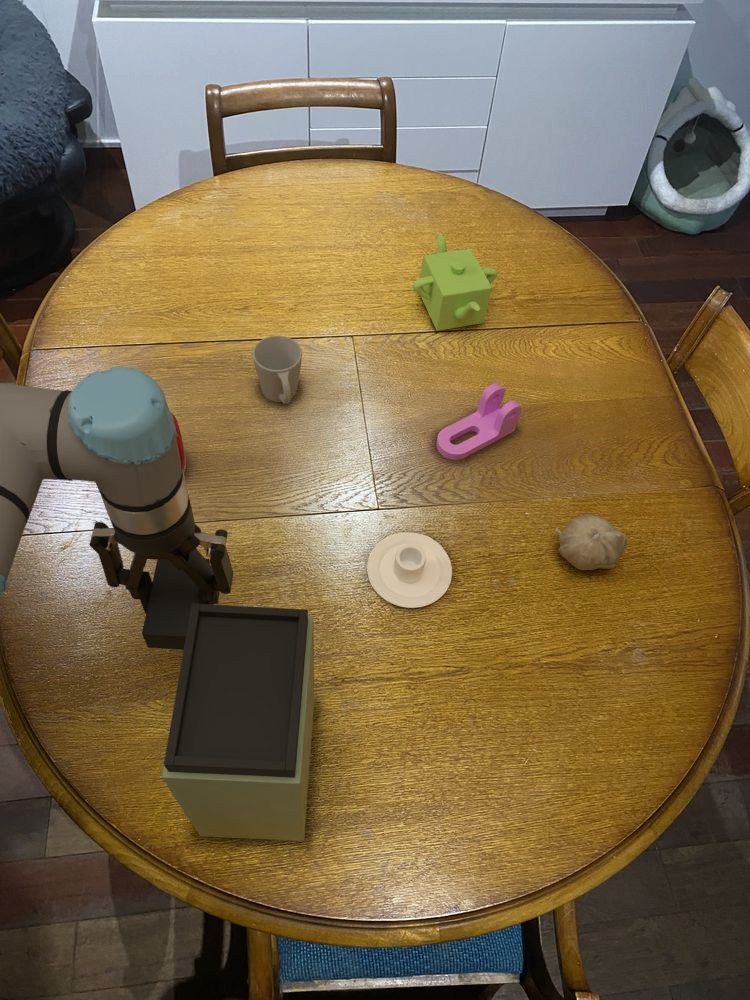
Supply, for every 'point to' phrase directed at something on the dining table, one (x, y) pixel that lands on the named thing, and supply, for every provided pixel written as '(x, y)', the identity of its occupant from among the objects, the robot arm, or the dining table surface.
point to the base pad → (239, 692)
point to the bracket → (481, 425)
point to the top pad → (169, 607)
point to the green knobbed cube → (454, 287)
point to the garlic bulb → (591, 542)
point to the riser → (253, 786)
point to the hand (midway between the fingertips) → (180, 608)
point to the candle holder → (409, 569)
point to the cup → (278, 367)
